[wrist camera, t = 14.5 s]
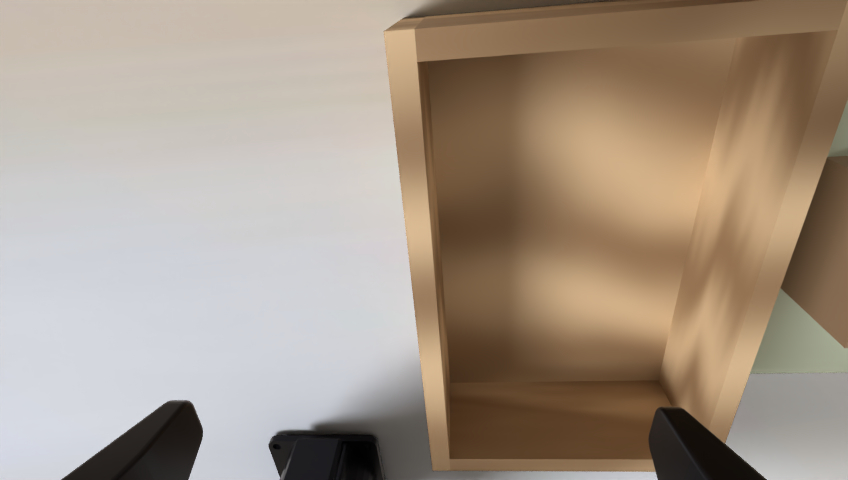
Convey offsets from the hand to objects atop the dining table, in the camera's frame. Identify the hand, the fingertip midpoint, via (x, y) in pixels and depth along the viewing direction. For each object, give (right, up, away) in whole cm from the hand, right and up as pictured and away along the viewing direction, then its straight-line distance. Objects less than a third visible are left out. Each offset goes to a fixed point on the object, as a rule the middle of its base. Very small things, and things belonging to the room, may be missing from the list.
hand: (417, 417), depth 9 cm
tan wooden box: (+6, +6, +10) cm, 13 cm away
